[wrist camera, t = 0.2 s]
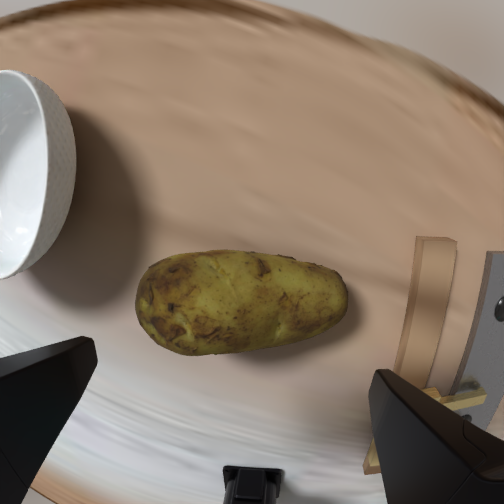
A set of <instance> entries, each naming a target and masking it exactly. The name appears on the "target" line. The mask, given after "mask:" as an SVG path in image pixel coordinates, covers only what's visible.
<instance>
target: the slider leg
mask: <svg viewBox="0 0 504 504" xmlns="http://www.w3.org/2000/svg"><path fill="white" fill-rule="evenodd" d="M420 390H421V391H423V392H424V393H426V394H427V395H429V396H431V397H432V398H434V399H435V400H437V401H438V402H440V403H441V404H443V405H444V406H446V407H447V408H449V409H451V410H452V411H454V410H458V409H463V408H467V407H471V406H475V405H479V404H483V403H484V401H485V398H486V396H487V393H486V392H485V389H484V388H483V387H479V388H478V389H477V390H475V391H470V392H465V393H461V394H456V395H450V396H445V397H441V396H440V394H439V392H438V391H437V389H436V387H433V388H426V389H420Z"/></svg>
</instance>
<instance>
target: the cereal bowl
mask: <svg viewBox="0 0 504 504" xmlns="http://www.w3.org/2000/svg"><path fill="white" fill-rule="evenodd" d="M76 157H77V156H76V145H75V137H74V133H73V127H72V125H71V120H70V119H69V116H68V114H67V110H66V108H65V107H64V105H63V103H62V101H61V100H60V99H59V96H58V95H57V94H56V93H55V92H54V91H53V90H52V89H51V88H50V87H49V86H48V85H47V84H45V83H44V82H43V81H41V80H39V79H37V78H36V77H33V76H31V75H29V74H25V73H23V72H19V71H16V70H2V71H0V280H1V279H6V278H9V277H11V276H15V275H16V274H17V273H20V272H22V271H23V270H25V269H27V268H29V267H30V266H31V265H33V264H35V263H36V261H37V260H39V259H40V258H42V256H43V255H44V254H45V253H46V252H47V251H48V249H49V248H50V247H51V246H52V244H53V243H54V241H55V240H56V239H57V237H58V235H59V232H60V231H61V229H62V227H63V224H64V223H65V220H66V216H67V215H68V212H69V208H70V205H71V201H72V195H73V191H74V187H75V186H74V184H75V175H76Z"/></svg>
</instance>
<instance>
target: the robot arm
mask: <svg viewBox="0 0 504 504" xmlns="http://www.w3.org/2000/svg"><path fill="white" fill-rule="evenodd" d="M97 362H98V359H97V354H96V349H95V344H94V341H93V339H92V338H89V337H85V336H80V337H76V338H73V339H69V340H66V341H62V342H59V343H55V344H51V345H48V346H44V347H40V348H37V349H33V350H29V351H26V352H22V353H18V354H15V355H11V356H7V357H3V358H0V504H21V503H22V501H23V499H24V497H25V495H26V493H27V491H28V489H29V487H30V485H31V484H32V482H33V480H34V478H35V476H36V474H37V472H38V471H39V469H40V467H41V465H42V463H43V462H44V460H45V458H46V456H47V455H48V453H49V451H50V449H51V448H52V446H53V444H54V442H55V441H56V439H57V437H58V435H59V434H60V432H61V430H62V429H63V427H64V425H65V424H66V422H67V420H68V419H69V417H70V415H71V414H72V412H73V411H74V409H75V407H76V406H77V404H78V402H79V401H80V399H81V397H82V395H83V393H84V391H85V389H86V387H87V385H88V383H89V381H90V378H91V376H92V374H93V372H94V370H95V368H96V366H97ZM369 405H370V413H371V421H372V431H373V438H374V442H375V447H376V451H377V455H378V460H379V464H380V469H381V474H382V478H383V483H384V488H385V493H386V498H387V503H388V504H504V441H503V440H501V439H499V438H497V437H495V436H493V435H491V434H490V433H488V432H486V431H484V430H482V429H481V428H479V427H477V426H476V425H474V424H472V423H471V422H469V421H468V420H466V419H464V418H463V417H461V416H460V415H458V414H457V413H455V412H454V411H452V410H451V409H449V408H447V407H446V406H444V405H443V404H441V403H440V402H438V401H437V400H435V399H434V398H432V397H431V396H429V395H427V394H426V393H424V392H423V391H421V390H420V389H418V388H417V387H415V386H414V385H412V384H411V383H409V382H408V381H406V380H405V379H403V378H402V377H400V376H399V375H397V374H396V373H394V372H393V371H391V370H389V369H377V370H376V371H375V373H374V376H373V380H372V383H371V386H370V389H369ZM281 473H282V471H281V470H280V469H262V468H245V467H233V466H224V467H223V476H224V483H225V491H226V492H225V497H224V502H223V504H276V498H278V497H279V491H280V483H281Z"/></svg>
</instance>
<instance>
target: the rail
mask: <svg viewBox="0 0 504 504" xmlns="http://www.w3.org/2000/svg"><path fill="white" fill-rule="evenodd" d="M456 248H457V241H455V240H452V239H450V238H445V237H418V236H416V244H415V254H414V262H413V270H412V278H411V285H410V291H409V298H408V304H407V309H406V315H405V320H404V325H403V331H402V335H401V340H400V345H399V349H398V353H397V358H396V362H395V366H394V370H393V372H394V373H396V374H397V375H399V376H400V377H402V378H403V379H405V380H406V381H408V382H409V383H411V384H412V385H414V386H415V387H417V388H418V389H424V388H425V385H426V382H427V379H428V376H429V373H430V369H431V366H432V363H433V359H434V356H435V352H436V349H437V345H438V341H439V337H440V334H441V330H442V325H443V321H444V317H445V312H446V308H447V303H448V298H449V293H450V287H451V281H452V276H453V269H454V263H455V255H456ZM363 469H364V474H365V475H368V474H376V473H381V469H380V464H379V460H378V455H377V451H376V447H375V442H374V438H373V439H372V442H371V445H370V448H369V450H368V453H367V456H366V458H365V461H364V464H363Z"/></svg>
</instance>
